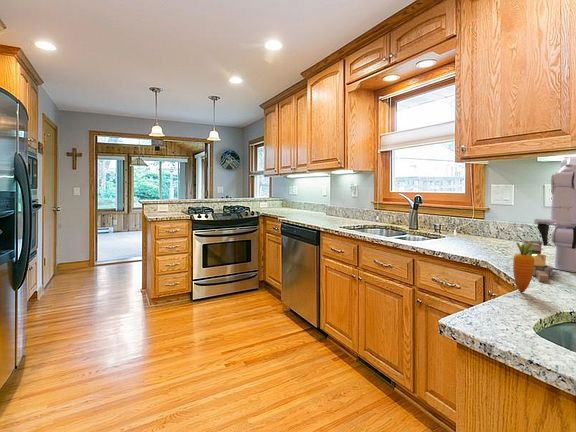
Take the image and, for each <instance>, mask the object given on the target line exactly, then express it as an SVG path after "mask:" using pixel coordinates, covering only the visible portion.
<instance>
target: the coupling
mask: <svg viewBox="0 0 576 432" xmlns="http://www.w3.org/2000/svg"><path fill="white" fill-rule="evenodd" d="M553 270H554V269H553V268H552V267H551V265H547V264H545V268H541V267H534V268H533V274H532V277H533V276H534V277H535V278H536V280H538V282H540V283H546V284H547V283H548V282H549V278H550V277H553Z"/></svg>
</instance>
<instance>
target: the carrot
mask: <svg viewBox="0 0 576 432" xmlns="http://www.w3.org/2000/svg"><path fill="white" fill-rule="evenodd" d="M515 244H516V246H517V248H518V250H519V252H520V253H515V255H513V259H512V260H513V265H512V269H513V270H512V271H513V277H514V278H513V279H514V282H515V285H516V287H517V289H518V291H519V292H520V293H521V294H523V293H524V292H525V291H526V290H527V288H528V287H529V285H530V284H531V280H532V277H533V276H532V274H533V268H534V258H533V257H532V256H531V255H529V254H528V253H529V252H531V251H532V249H529V248H530V247H531V245H532V243H530V242H529V243H528V244H526V245H525V244H522V243H521V245H520V243H519V242H515ZM528 249H529V250H528Z"/></svg>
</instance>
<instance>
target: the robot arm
mask: <svg viewBox="0 0 576 432" xmlns="http://www.w3.org/2000/svg"><path fill="white" fill-rule="evenodd" d="M550 187H551V189H550V190H551V191H550V193H551V194H552V195H551V197H552V198H551V208H550V209H551V211H550V219H546V218H534V225H536V227H537V230H538V231H539V233H540V236H541V238H542V244H543V246H544V247H546V246H548V243H549V241H548V240H549V239H548V236H549V235H548V234H549V228H550V226H553V228H552V229H551V235H550V240H551V243H552V244H554V246H555V253H554V264H553V265H552V266H551V265H550V266H551V267H552V268H553V270H559V271H566V272H571V273H576V156H570V157H569V156H564V157H563V158H562V159H561V162H560V169H559V171H558V172H555V173H552V174H551V177H550Z"/></svg>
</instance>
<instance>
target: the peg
mask: <svg viewBox="0 0 576 432" xmlns="http://www.w3.org/2000/svg"><path fill="white" fill-rule="evenodd" d="M532 257H533V258H534V267H541V268H545V265H546V258H547V255H546V254H542V253H541V254H532Z"/></svg>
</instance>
